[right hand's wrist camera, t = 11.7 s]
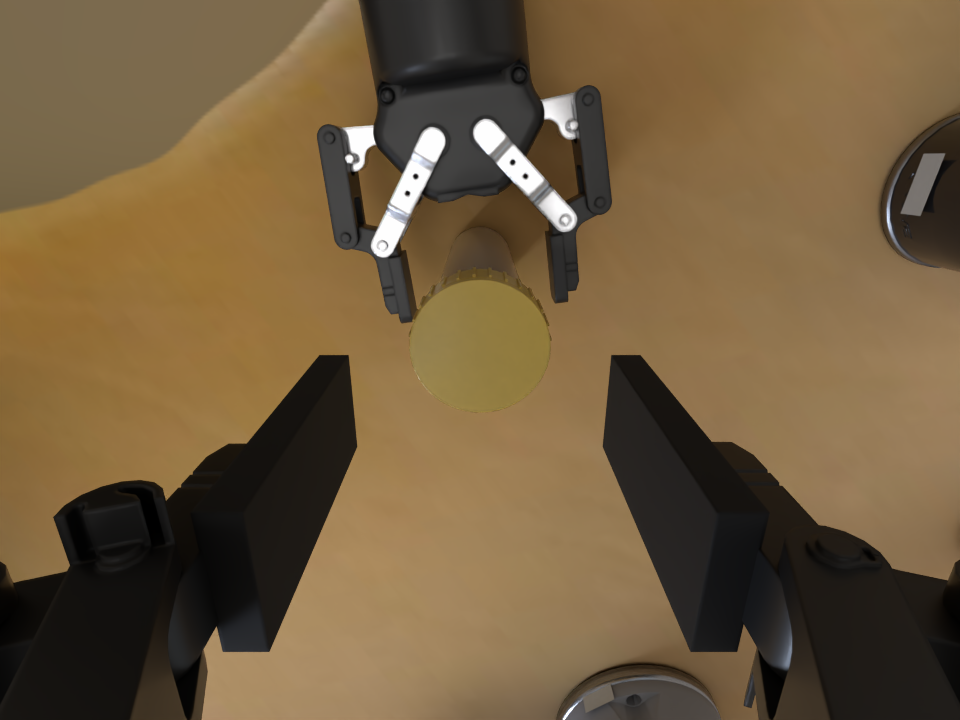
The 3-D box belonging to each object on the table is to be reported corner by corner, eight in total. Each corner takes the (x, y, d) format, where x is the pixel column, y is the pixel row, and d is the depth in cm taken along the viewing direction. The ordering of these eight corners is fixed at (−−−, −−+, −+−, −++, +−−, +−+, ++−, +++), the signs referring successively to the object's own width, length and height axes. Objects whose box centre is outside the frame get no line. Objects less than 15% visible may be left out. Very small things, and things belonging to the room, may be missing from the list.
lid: (524, 405, 21) (529, 428, 19) (401, 376, 20) (394, 396, 19) (563, 286, 19) (571, 298, 17) (429, 251, 19) (424, 260, 17)
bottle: (501, 293, 36) (519, 408, 19) (443, 279, 35) (412, 383, 19) (517, 235, 34) (551, 305, 18) (457, 219, 34) (436, 275, 18)
